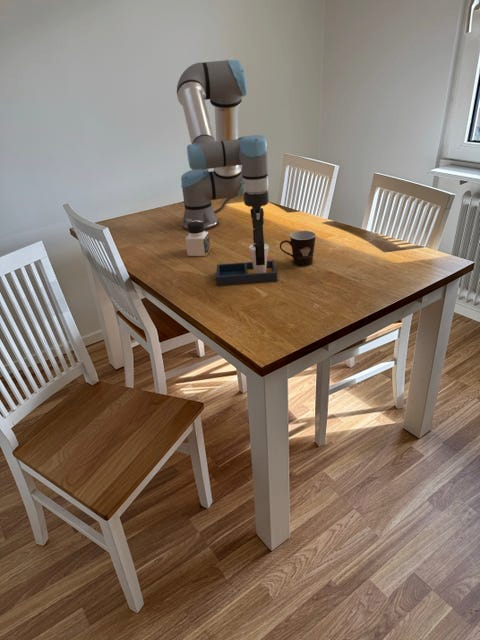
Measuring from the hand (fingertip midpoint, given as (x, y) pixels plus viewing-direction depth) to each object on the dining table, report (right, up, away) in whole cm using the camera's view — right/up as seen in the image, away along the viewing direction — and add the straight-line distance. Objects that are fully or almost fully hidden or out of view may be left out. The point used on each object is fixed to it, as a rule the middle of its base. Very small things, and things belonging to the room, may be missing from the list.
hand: (259, 256), depth 148 cm
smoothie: (0, -6, +3) cm, 6 cm away
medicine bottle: (-22, +5, +25) cm, 33 cm away
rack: (-4, -6, +3) cm, 8 cm away
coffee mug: (+14, -1, +11) cm, 18 cm away
